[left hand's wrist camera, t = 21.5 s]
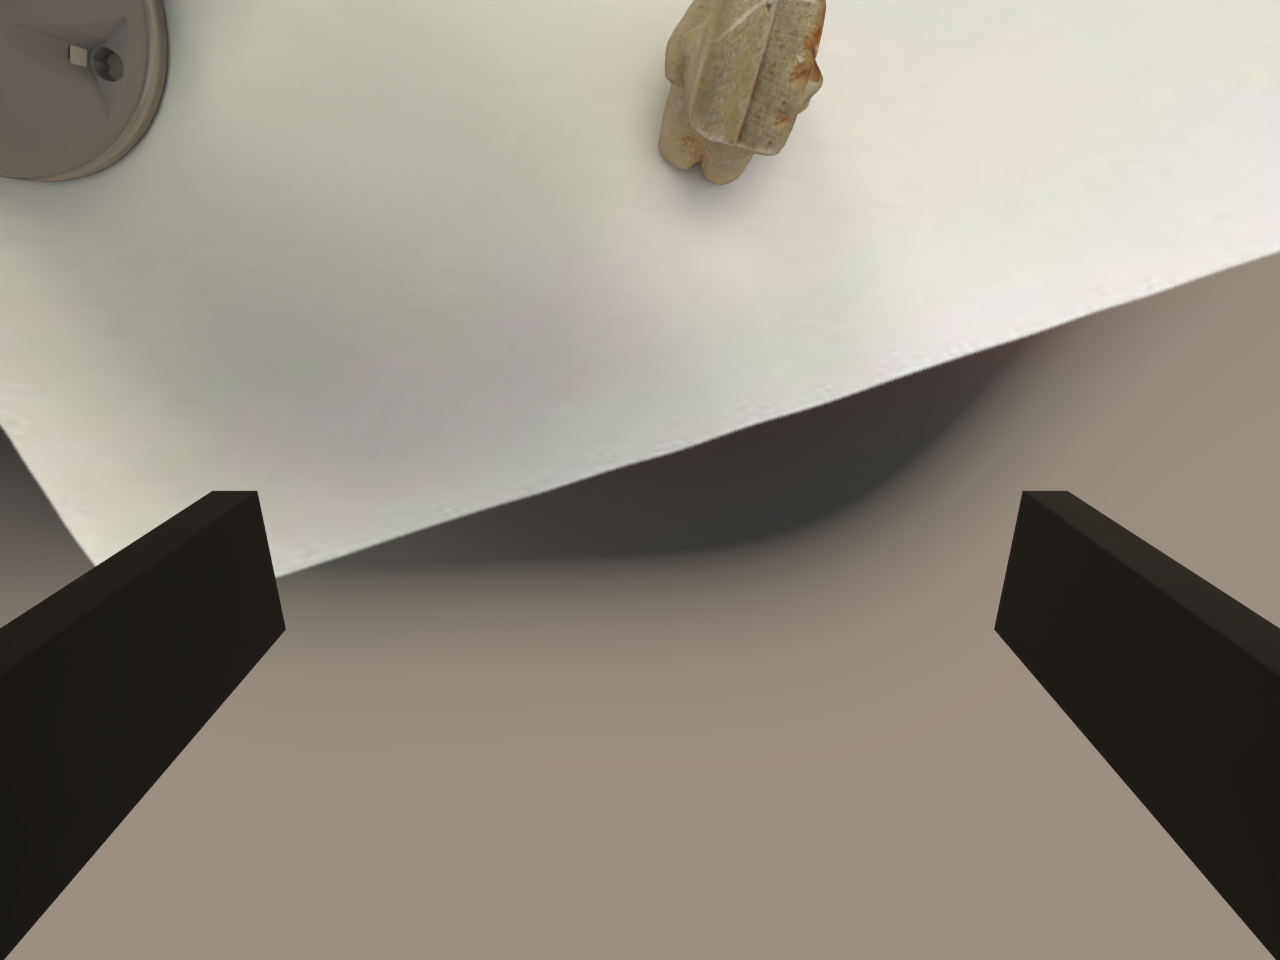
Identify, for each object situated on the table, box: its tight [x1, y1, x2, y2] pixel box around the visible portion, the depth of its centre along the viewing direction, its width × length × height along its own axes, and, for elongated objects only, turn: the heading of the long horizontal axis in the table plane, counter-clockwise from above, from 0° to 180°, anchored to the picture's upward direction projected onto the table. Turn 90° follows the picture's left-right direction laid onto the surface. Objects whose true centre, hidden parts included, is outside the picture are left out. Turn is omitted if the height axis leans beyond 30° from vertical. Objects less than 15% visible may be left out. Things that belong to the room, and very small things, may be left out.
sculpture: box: [659, 0, 826, 184], centre depth 28 cm, size 6×7×15 cm
